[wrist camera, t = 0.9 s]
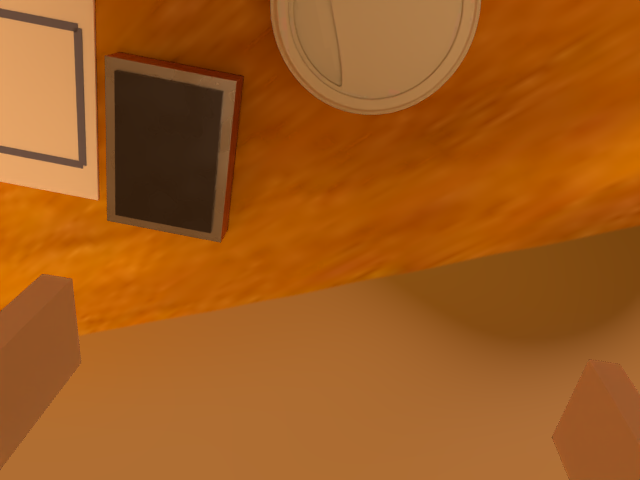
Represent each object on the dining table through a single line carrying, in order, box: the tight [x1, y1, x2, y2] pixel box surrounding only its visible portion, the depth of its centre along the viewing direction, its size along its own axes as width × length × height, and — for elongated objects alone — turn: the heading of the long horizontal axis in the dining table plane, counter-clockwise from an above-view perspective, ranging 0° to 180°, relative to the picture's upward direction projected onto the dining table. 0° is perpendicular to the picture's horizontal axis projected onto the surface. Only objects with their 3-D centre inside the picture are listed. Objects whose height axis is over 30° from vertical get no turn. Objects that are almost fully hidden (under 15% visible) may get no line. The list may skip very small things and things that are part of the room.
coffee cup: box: [270, 0, 481, 115], centre depth 25 cm, size 9×8×12 cm
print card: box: [0, 0, 99, 200], centre depth 34 cm, size 14×11×1 cm
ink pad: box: [105, 52, 244, 242], centre depth 34 cm, size 11×8×2 cm
